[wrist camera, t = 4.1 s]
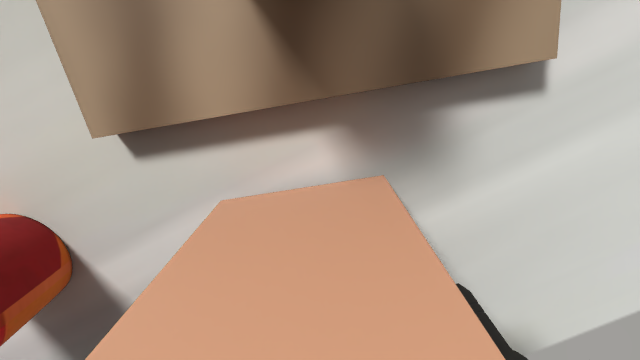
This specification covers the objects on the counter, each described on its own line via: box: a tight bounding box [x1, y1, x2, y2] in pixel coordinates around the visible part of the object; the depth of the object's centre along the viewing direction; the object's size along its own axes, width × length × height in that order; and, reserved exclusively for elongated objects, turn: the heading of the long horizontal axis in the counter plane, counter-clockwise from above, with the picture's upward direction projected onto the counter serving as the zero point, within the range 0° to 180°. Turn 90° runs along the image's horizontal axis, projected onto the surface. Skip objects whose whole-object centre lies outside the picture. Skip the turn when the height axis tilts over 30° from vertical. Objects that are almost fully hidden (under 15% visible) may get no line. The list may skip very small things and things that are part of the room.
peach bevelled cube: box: [85, 175, 505, 360], centre depth 11 cm, size 8×8×10 cm
